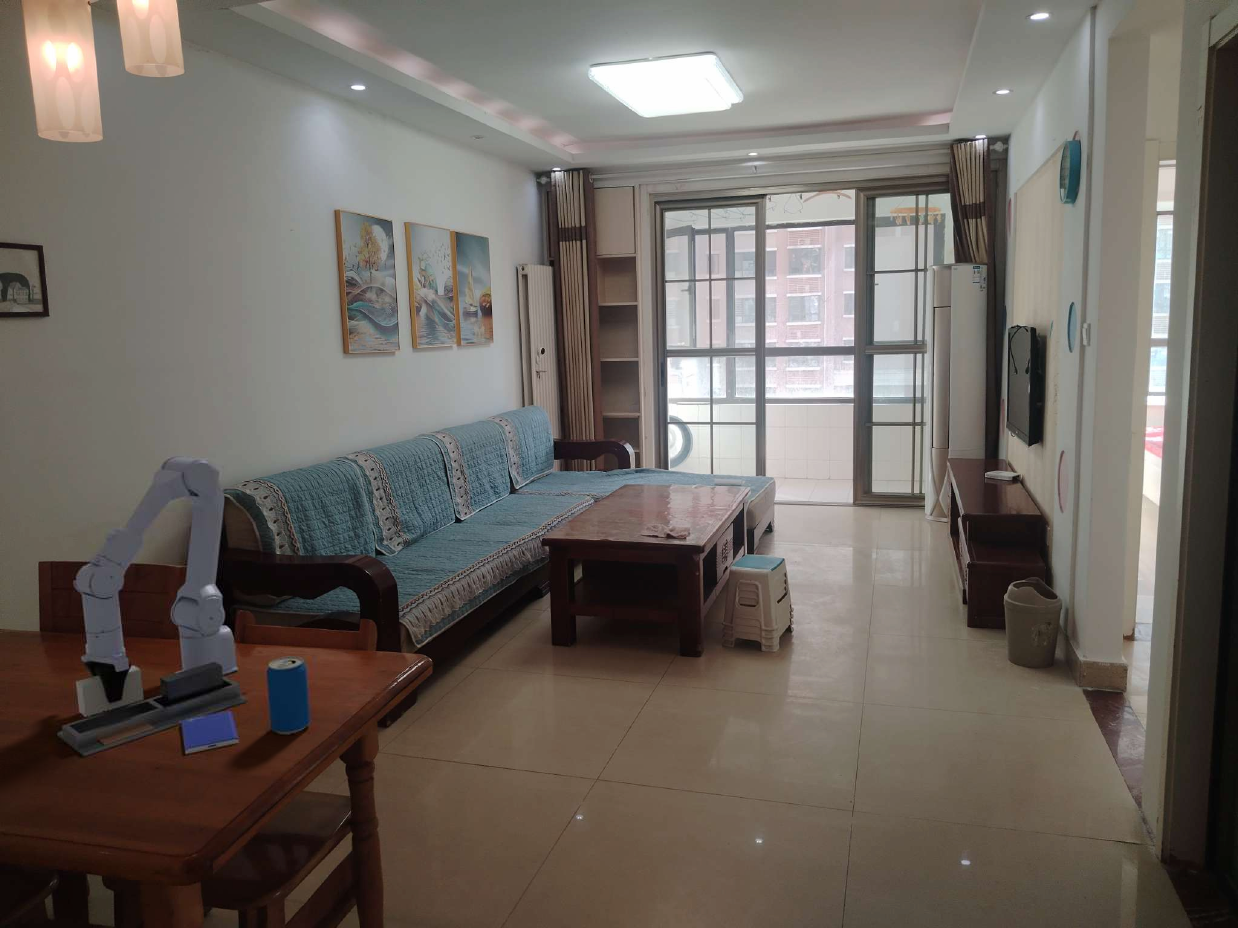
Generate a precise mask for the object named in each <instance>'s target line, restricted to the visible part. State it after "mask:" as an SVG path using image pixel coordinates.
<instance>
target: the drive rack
mask: <svg viewBox="0 0 1238 928" xmlns="http://www.w3.org/2000/svg"><path fill="white" fill-rule="evenodd" d="M180 671H181V672H178V671H177V672H178V673H171V674H168V675H165V676H162V677H161V676H160V677H159V683H160V691H161V693H160V694H161V695H157V696H154V697H151V698H147V699H145V700H140V701H137V702H134V703H131V704H127V705H124V706H121V707H118V708H114V709H111V710H108V711H105V712H101V713H98V714H95V715H94V716H93V715H92V716H88V717H85V718H83V719H79V720H76V721H73V722H70V723H68V724H64V725H61V729H62V730H61V731H57V737H59V738H60V739H62V741H64V742H65V743H67V745H69V746H70V747H72V748H73V749H74V750H75V751H77V752H78V753H79V754H81V755H82V756H83V757H87V756H90V755H94V754H96V753H98V752H101V751H104V750H108V749H110V748H114V747H117V746H120V745H123V744H125V743H128V742H131V741H134V740H137V739H140V738H142V737H147V736H149V735H152V734H155V733H157V732H162V731H164V730H167V729H169V728H174V727H175V726H179V725H182V721H183V720H185V719H190V718H195V717H200V716H205V715H210V714H215V713H218V712H220V711H222V710H223V711H224V710H226V709H229V708H233V707H234V706H238V705H240V704H244V703H247V702H248V701H249V700H248V699H249V698H248V697H246V696H244V695H242V694H241V686H240V683H237V682H235V681H233V680H231V679H229V678H228V677H225V676H224V675H223V673H222V665H220V664H218V663H216V662H212V663H208V664H205V665H202V666H198V667H195V668H191V669H188V670H185V671H182V670H180Z"/></svg>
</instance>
